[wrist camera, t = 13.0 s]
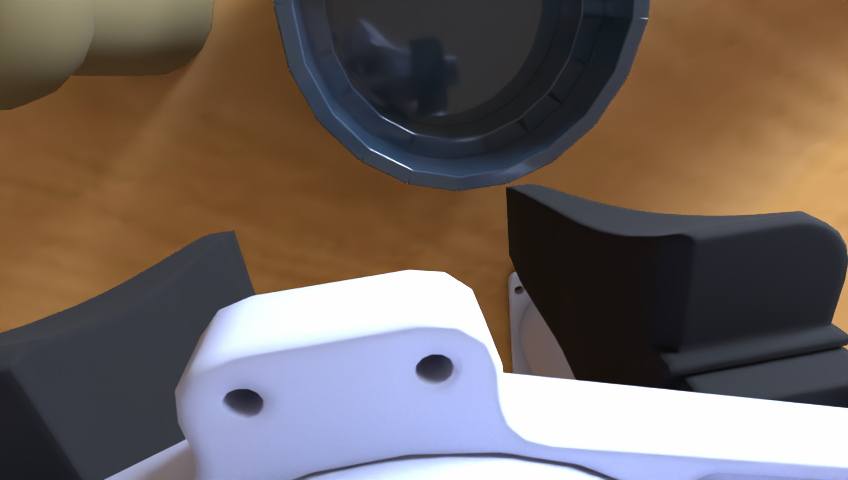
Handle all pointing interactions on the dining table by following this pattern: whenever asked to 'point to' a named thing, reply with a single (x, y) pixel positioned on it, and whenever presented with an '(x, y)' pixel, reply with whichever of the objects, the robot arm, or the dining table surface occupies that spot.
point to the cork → (94, 41)
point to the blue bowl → (459, 79)
